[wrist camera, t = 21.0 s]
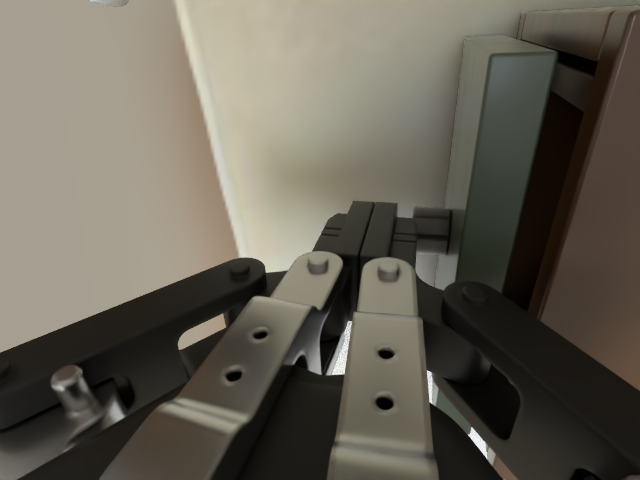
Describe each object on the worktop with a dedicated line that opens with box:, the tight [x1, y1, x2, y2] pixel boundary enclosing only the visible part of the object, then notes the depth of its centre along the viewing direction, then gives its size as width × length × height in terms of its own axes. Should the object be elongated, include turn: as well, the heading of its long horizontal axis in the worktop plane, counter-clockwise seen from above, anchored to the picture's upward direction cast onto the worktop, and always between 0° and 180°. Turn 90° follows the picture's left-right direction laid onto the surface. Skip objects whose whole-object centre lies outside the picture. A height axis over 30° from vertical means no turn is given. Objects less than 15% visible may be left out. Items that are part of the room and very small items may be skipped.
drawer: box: [413, 34, 598, 434], centre depth 12 cm, size 10×11×7 cm
